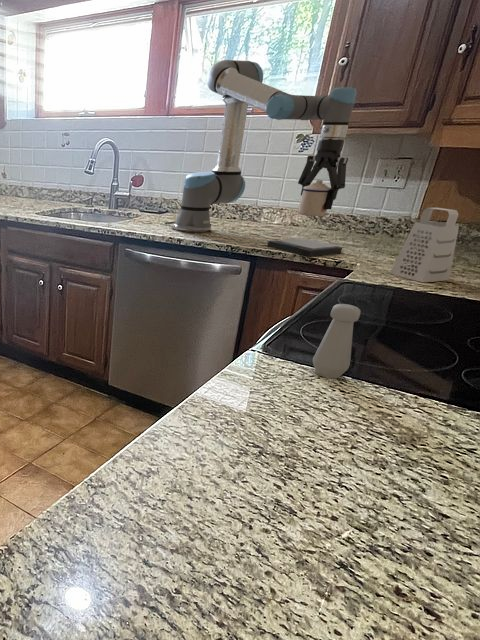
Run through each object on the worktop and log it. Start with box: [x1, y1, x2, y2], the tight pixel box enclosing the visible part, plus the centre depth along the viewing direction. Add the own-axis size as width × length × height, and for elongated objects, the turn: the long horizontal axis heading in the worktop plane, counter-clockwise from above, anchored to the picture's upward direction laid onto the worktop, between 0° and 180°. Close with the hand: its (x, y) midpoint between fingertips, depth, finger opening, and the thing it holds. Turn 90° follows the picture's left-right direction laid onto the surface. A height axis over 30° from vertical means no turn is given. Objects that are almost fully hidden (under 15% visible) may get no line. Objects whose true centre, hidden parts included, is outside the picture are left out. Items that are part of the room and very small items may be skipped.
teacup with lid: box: [297, 179, 331, 217], centre depth 186 cm, size 12×9×12 cm
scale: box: [267, 237, 343, 258], centre depth 192 cm, size 18×16×2 cm
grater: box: [389, 207, 460, 283], centre depth 155 cm, size 10×10×20 cm
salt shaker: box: [312, 303, 361, 380], centre depth 93 cm, size 6×6×13 cm
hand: (315, 207), depth 186 cm, fingers closed on teacup with lid, 9 cm apart
